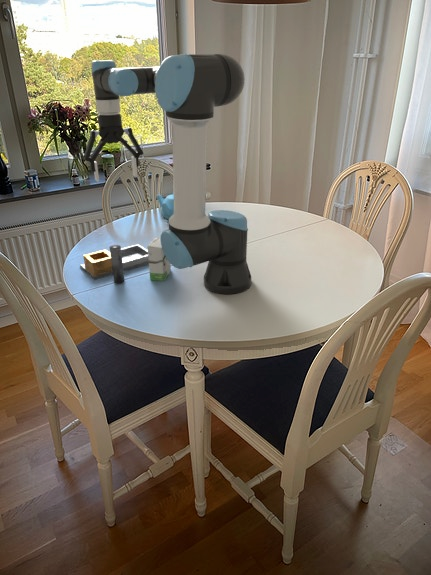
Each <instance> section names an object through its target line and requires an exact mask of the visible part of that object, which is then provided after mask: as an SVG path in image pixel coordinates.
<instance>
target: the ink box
mask: <svg viewBox="0 0 431 575" xmlns="http://www.w3.org/2000/svg"><path fill="white" fill-rule="evenodd" d="M146 247H147V250H148V259H149V264H148V268H149V270H148V271H149V279H150V281H156V282H157V281H158V282H159V281H160V282H164V281H166V278H167V277H168V276H169V274H170V273H171V271H172V265H171V264H170V262H169V261H168V260H167V258H166V256H165V254H164V252H163V249H162V246H161V240H160V237H154V238H153V239H152V240H151V241H150V243H149V244H147V246H146Z"/></svg>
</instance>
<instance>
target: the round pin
mask: <svg viewBox="0 0 431 575" xmlns="http://www.w3.org/2000/svg"><path fill="white" fill-rule="evenodd" d="M121 248H122V246H121V245H119V244H113V245H110V246H109V252H110V256H111V263H112V271H113V275H112V277H113V283H114V284H115V285H121V284H123V283H125V281H126V280H125V271H123V262H122V254H121Z"/></svg>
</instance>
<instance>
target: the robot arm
mask: <svg viewBox="0 0 431 575" xmlns="http://www.w3.org/2000/svg"><path fill="white" fill-rule="evenodd" d="M91 76H92V81H93V89H94V90H93V91H94V96H95V103H96V106H95V107H96V113H97V114H98V115H97V121H98V130H93V129H91V130H89V138H88V142H87V144H86V145H87V146H86V148H85V151H84V154H83V156H82V157H83V158H82V159H83V160H84V161H86V162H89V167H90V168H89V169H90V171H91V172H92V173H93V174H94V180H95V181H96V182H97V183H98V182H100V175H99V167H98V162H97V161H95V160H96V159H97V158H98V156H99V154H100V153H101V151H102V150H103V149H104V147H105V146H106V144H109V145H110V144H118V143H120V144H121V145H123V146H124V147H125V148H126V150H128V152H129V153H130V154H131V155H132V156H131V158H130V159H131V169H132V170H131V171H132V176H133V177H135V178H137V177H139V176H138V168H137V167H139V166H140V161H139V159H140V156H143V155H144V151H143V150H142V147H141V146H140V144H139V142H138V140H137V139H136V137H135V135H134V132H133V128H131V127H129V126H127V127H125V128H124V127H123V122H122V114H121V113H120V112H121V103H120V97H131V96H132V95H144V94H145V95H147V94H149V95H150V94H155V97H156V98H157V103H158V105H159V107H160V108H161V109H162V110H163V111H164V112H165V117H166V118H167V119H168V121H170V123H171V125H172V131H171V132H172V177H173V178H172V180H173V183H172V184H173V188H172V190H173V193H174V214H173V215H172V216H171V217H170V218H169V220H168V229H164V230H163V231H162V232H161V234H160V237H159V238H160V240H161V246H162V249H163V252H164V254H165V256H166V258H167V260H168V261H169V262H170V264H171V266H173V267H174V268H176V269H179V270H183V269H188V268H193V267H194V266H197V265H200V264H204V263H207V262H208V263H207V266H206V270H205V273H204V275H203V286H204V287H205V288H206V289H207V290H208V291H210V292H212V293H216V294H220V295H221V294H222V295H235V294H239V293H244V292H245V291H247V290H248V289H249V288H251V286H252V274H251V271H250V268H249V265H248V262H247V253H248V252H247V251H248V250H247V249H248V231H249V228H248V219H247V217H246V216H245V215H244V214H242V213H240V212H238V211H237V212H236V211H232V210H228V209H226V210H225V209H215V210H211V211H210V212H209V213H208V214H207V215H206V193H207V190H206V189H207V188H206V187H207V148H208V147H207V144H208V143H207V140H208V124H209V123H210V122H211V121H212V120H213V118H214V112H215V111H214V108H216V107H218V108H219V107H223V106H227V105H229V104H232V103H233V102H235V101H237V99H238V98H239V97H240V96H241V94H242V93H243V90H244V86H245V74H244V70H243V67H242V65H241V64H240V63H239V61H237V60H236V59H235V58H234V57H232V56H230V55H227V54H224V53H223V54H221V53H214V54H205V53H204V54H197V53H195V54H194V53H193V54H191V53H190V54H187V53H182V54H175V55H170V56H168V57H166V58H165V59H163V61H162V62H161V64H160V65H159V66H147V67H146V66H144V67H143V66H141V67H139V66H138V67H117V63H116V62H115V61H114V60H92V62H91ZM124 133H125V135H127V136H128V138H129V140H130V142H131V143H132V145H133V147H134V148H135V149H134V148H133V147H132V146H131V145H130V144H129V143H128V142H127V141H126V140H125V139H124V138H123V136H124ZM98 136H99V137H101V138H100V140H99V142H98V143H97V145H96V146H95V148H94V145H95V142H96V139H97V138H98ZM93 148H94V150H93Z"/></svg>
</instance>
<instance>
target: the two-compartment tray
mask: <svg viewBox="0 0 431 575" xmlns="http://www.w3.org/2000/svg"><path fill="white" fill-rule="evenodd" d="M121 254H122V262H123V271H124V272H126V271H129V270H133V269H136V268H140V267H143V266H147V265H149V259H148V248H147V249H146V248H145V247H144V246H142V245H141V244H139V243H137V244H133V245H129V246H126V247H123V248H122V247H121ZM82 257H83V262H84V263H81V264H79V268H81V270H83V271H84V272H85V273H86V274H87V275H88V276H89V277H90V278H92V280H93V281H96V280H98V279H102V278H105V277H108V276H113V271H112V263H111V256H110V251H108V250H107V249H101V250H98V251H94V252H90V253H86V254H83V256H82Z"/></svg>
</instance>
